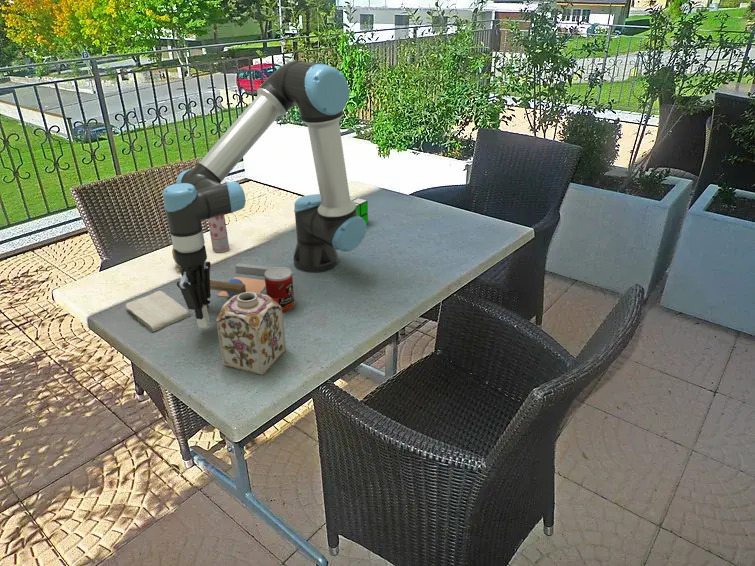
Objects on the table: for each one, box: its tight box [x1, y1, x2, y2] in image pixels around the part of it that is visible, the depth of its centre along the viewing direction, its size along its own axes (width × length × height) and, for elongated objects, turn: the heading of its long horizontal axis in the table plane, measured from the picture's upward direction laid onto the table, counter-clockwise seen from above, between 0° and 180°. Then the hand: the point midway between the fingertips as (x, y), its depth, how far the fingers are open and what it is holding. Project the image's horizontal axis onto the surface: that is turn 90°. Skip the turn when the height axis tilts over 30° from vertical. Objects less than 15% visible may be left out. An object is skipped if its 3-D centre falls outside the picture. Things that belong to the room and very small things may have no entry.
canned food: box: [264, 266, 296, 313], centre depth 155 cm, size 8×8×11 cm
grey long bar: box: [234, 262, 273, 277], centre depth 175 cm, size 14×2×2 cm, turn 77°
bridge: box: [207, 279, 246, 310], centre depth 153 cm, size 3×14×9 cm, turn 77°
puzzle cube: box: [350, 196, 369, 226], centre depth 208 cm, size 10×10×10 cm
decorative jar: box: [215, 292, 287, 376], centre depth 132 cm, size 12×12×18 cm
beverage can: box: [207, 215, 230, 254], centre depth 188 cm, size 6×6×15 cm
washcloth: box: [125, 290, 191, 332], centre depth 154 cm, size 12×18×3 cm, turn 47°
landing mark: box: [217, 276, 266, 298], centre depth 167 cm, size 12×12×1 cm
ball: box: [227, 278, 243, 297], centre depth 162 cm, size 6×6×6 cm
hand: (204, 326), depth 145 cm, fingers closed
